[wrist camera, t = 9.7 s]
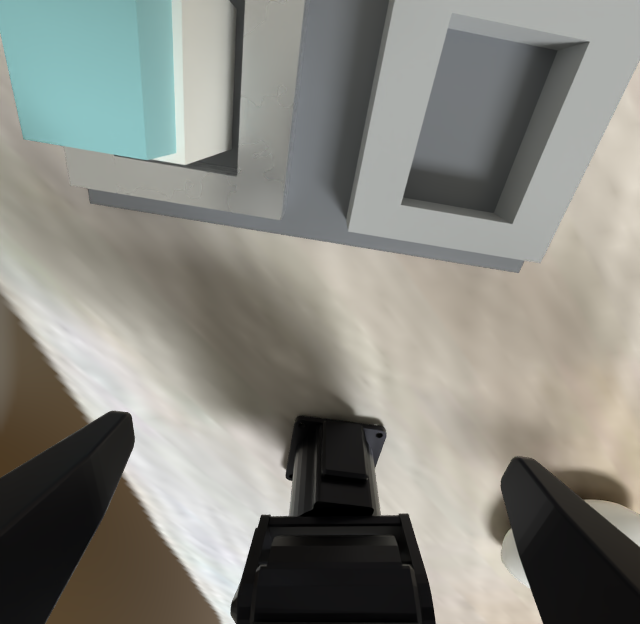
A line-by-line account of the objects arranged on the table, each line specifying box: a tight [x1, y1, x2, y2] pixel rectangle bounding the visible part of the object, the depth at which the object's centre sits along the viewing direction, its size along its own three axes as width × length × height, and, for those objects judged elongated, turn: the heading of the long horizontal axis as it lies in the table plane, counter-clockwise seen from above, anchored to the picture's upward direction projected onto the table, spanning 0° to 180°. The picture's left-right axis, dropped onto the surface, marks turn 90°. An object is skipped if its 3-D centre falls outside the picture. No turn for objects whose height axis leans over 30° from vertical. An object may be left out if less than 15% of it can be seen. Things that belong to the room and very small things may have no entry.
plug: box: [0, 0, 237, 165], centre depth 11 cm, size 4×5×8 cm
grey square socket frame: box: [346, 0, 640, 263], centre depth 15 cm, size 9×10×2 cm
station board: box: [88, 0, 558, 273], centre depth 16 cm, size 22×12×1 cm, turn 81°
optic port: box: [64, 0, 309, 220], centre depth 14 cm, size 9×10×2 cm
